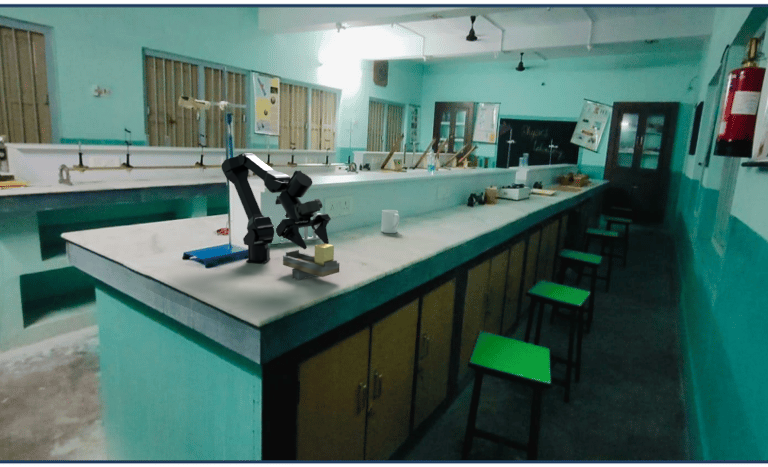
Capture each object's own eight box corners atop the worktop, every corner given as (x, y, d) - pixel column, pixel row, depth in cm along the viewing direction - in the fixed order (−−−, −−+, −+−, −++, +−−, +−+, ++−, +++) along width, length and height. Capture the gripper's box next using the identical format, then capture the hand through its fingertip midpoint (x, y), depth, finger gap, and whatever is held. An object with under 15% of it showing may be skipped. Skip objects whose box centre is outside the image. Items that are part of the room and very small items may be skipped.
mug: (378, 230, 221) (379, 209, 219) (392, 229, 225) (393, 209, 222) (390, 235, 210) (391, 213, 208) (404, 234, 214) (405, 213, 212)
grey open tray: (281, 274, 143) (281, 253, 142) (302, 268, 150) (302, 248, 149) (319, 287, 133) (320, 264, 131) (340, 280, 140) (341, 259, 138)
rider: (314, 267, 137) (314, 245, 135) (324, 264, 140) (324, 243, 138) (323, 270, 134) (324, 247, 133) (333, 267, 137) (333, 245, 136)
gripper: (281, 192, 130) (306, 235, 126) (327, 189, 145) (351, 227, 140) (265, 215, 137) (288, 256, 132) (310, 210, 151) (333, 247, 147)
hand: (317, 246), depth 138 cm, fingers open, 9 cm apart
